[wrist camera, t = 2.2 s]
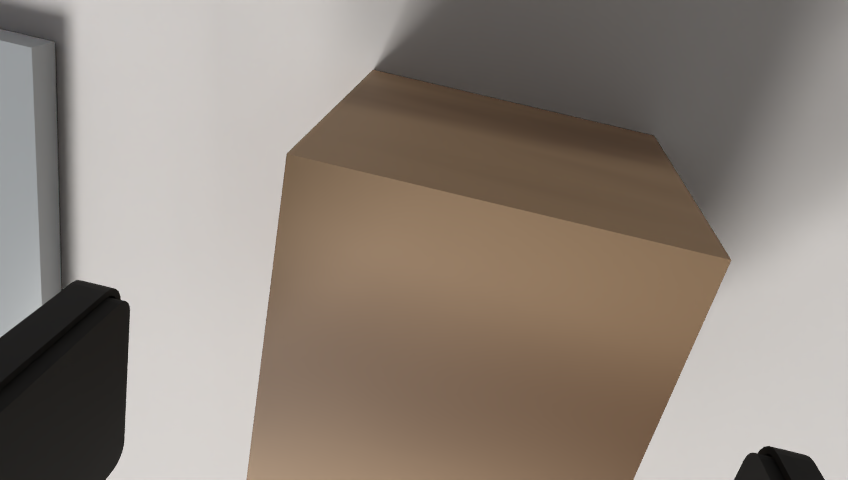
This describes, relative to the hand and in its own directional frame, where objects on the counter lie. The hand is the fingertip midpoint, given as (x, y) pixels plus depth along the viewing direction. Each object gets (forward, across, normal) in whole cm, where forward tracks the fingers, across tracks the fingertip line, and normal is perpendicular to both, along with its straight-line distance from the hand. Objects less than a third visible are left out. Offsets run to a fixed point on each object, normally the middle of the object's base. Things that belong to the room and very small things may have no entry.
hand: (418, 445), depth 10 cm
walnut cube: (+6, 0, -1) cm, 7 cm away
